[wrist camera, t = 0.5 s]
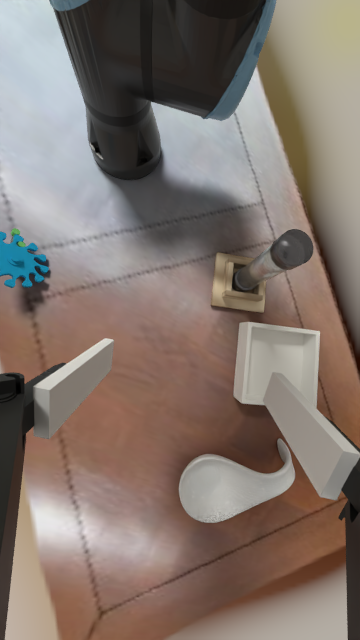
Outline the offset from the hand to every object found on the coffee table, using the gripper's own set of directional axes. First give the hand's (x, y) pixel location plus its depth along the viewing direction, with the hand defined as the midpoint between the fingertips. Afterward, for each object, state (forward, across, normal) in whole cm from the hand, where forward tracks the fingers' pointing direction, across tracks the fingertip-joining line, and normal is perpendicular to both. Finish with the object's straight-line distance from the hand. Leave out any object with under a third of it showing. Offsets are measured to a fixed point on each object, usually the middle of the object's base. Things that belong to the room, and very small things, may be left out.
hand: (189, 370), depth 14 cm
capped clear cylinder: (+27, +10, +9) cm, 30 cm away
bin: (+24, +20, -7) cm, 32 cm away
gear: (+22, -34, +4) cm, 40 cm away
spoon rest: (+17, +15, -29) cm, 36 cm away
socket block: (+28, +10, +8) cm, 31 cm away
